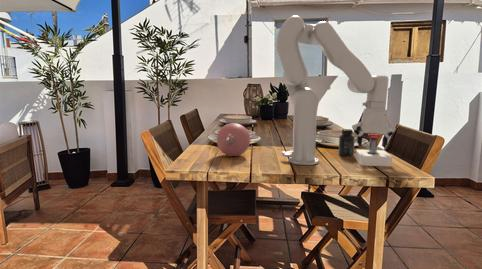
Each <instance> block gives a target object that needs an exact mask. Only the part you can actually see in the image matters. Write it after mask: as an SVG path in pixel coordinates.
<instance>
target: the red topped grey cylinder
mask: <svg viewBox="0 0 482 269" xmlns="http://www.w3.org/2000/svg"><path fill="white" fill-rule="evenodd" d="M380 137H381V135H380V134H377V133H367V138H369V144H368V145H369V146H368V150H369V154H377V150H378V139H379V138H380Z"/></svg>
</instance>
